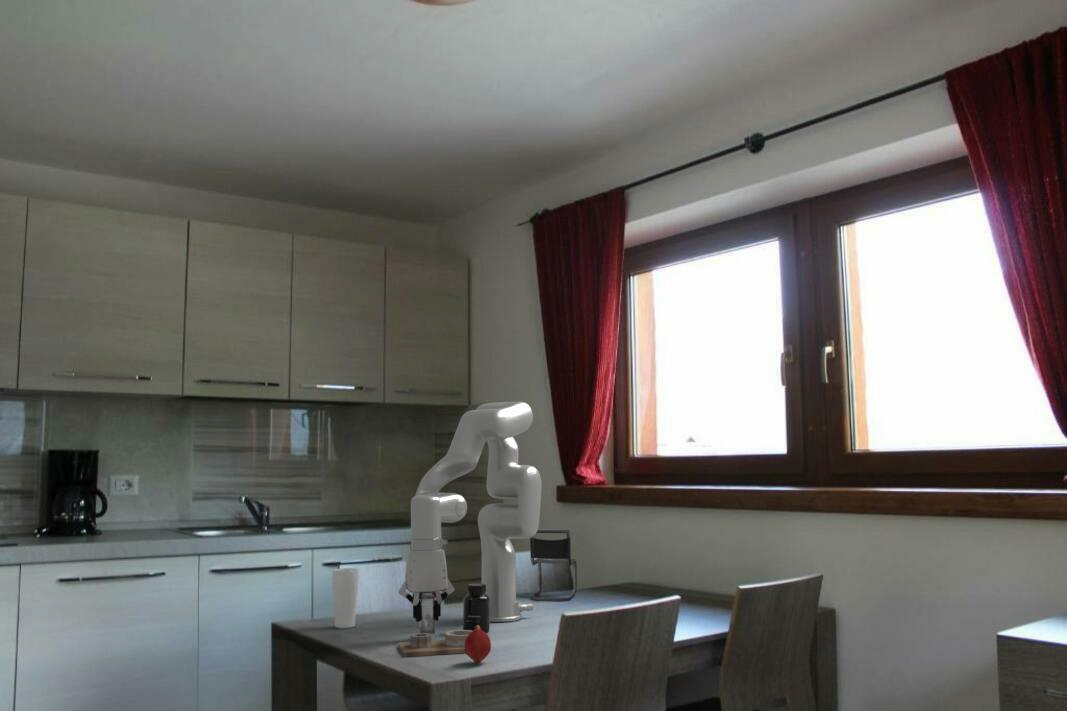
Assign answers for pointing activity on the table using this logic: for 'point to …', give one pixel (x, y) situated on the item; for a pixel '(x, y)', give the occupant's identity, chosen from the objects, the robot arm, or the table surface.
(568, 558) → the chair
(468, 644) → the onion
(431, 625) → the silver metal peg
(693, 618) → the table surface
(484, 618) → the supplement bottle
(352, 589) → the drinking glass
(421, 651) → the fitting board
